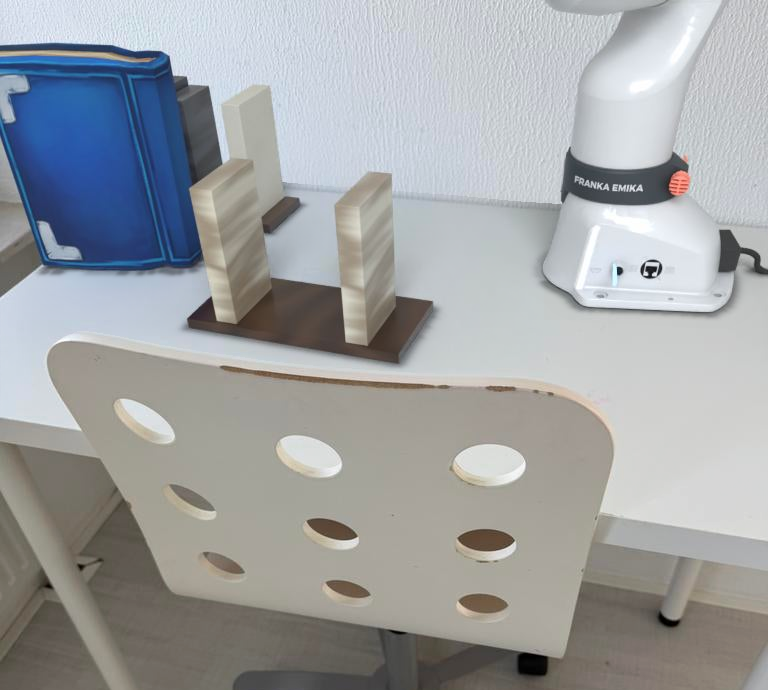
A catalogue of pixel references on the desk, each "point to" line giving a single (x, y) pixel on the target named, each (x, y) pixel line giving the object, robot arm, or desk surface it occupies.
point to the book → (98, 155)
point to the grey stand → (213, 144)
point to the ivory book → (255, 140)
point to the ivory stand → (300, 299)
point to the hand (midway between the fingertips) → (286, 40)
